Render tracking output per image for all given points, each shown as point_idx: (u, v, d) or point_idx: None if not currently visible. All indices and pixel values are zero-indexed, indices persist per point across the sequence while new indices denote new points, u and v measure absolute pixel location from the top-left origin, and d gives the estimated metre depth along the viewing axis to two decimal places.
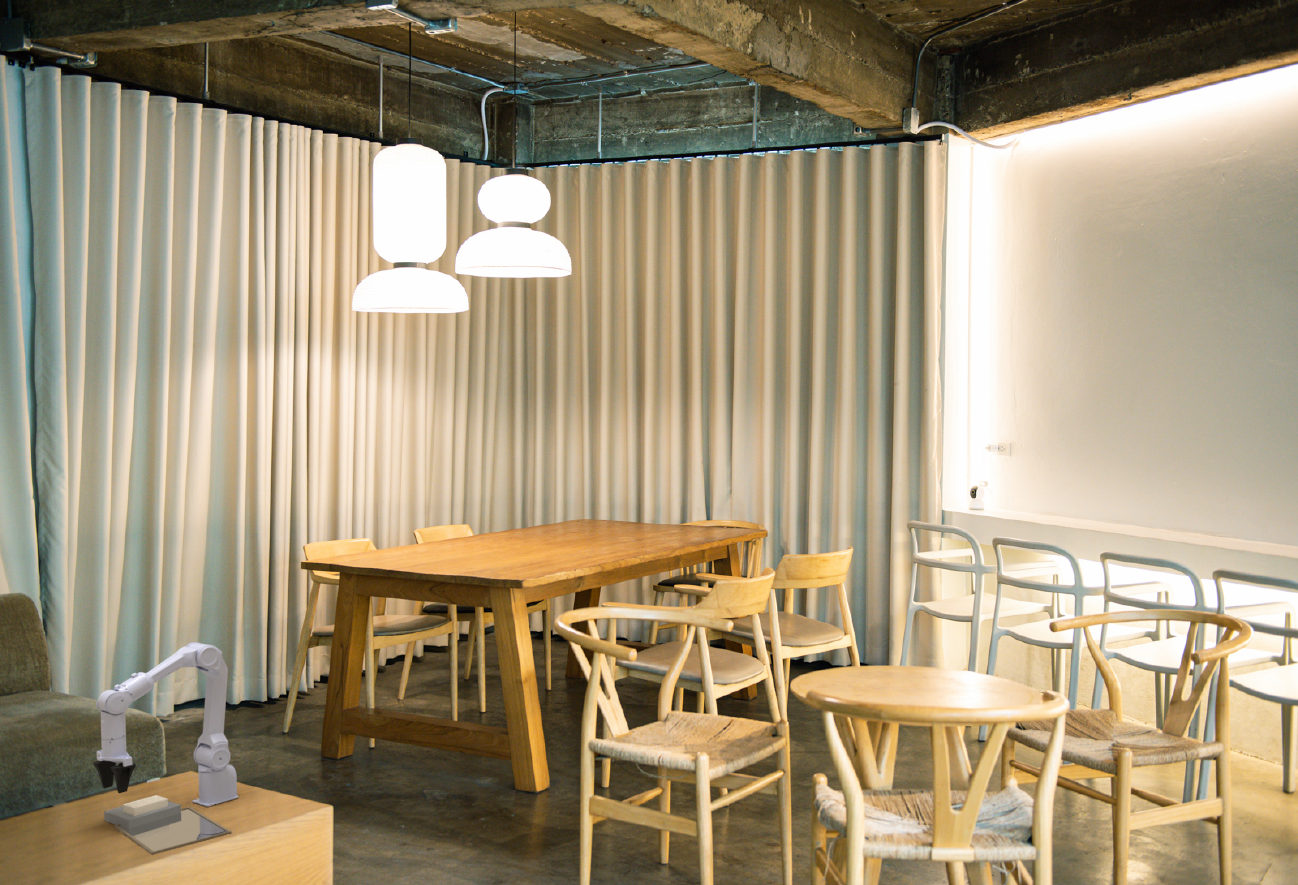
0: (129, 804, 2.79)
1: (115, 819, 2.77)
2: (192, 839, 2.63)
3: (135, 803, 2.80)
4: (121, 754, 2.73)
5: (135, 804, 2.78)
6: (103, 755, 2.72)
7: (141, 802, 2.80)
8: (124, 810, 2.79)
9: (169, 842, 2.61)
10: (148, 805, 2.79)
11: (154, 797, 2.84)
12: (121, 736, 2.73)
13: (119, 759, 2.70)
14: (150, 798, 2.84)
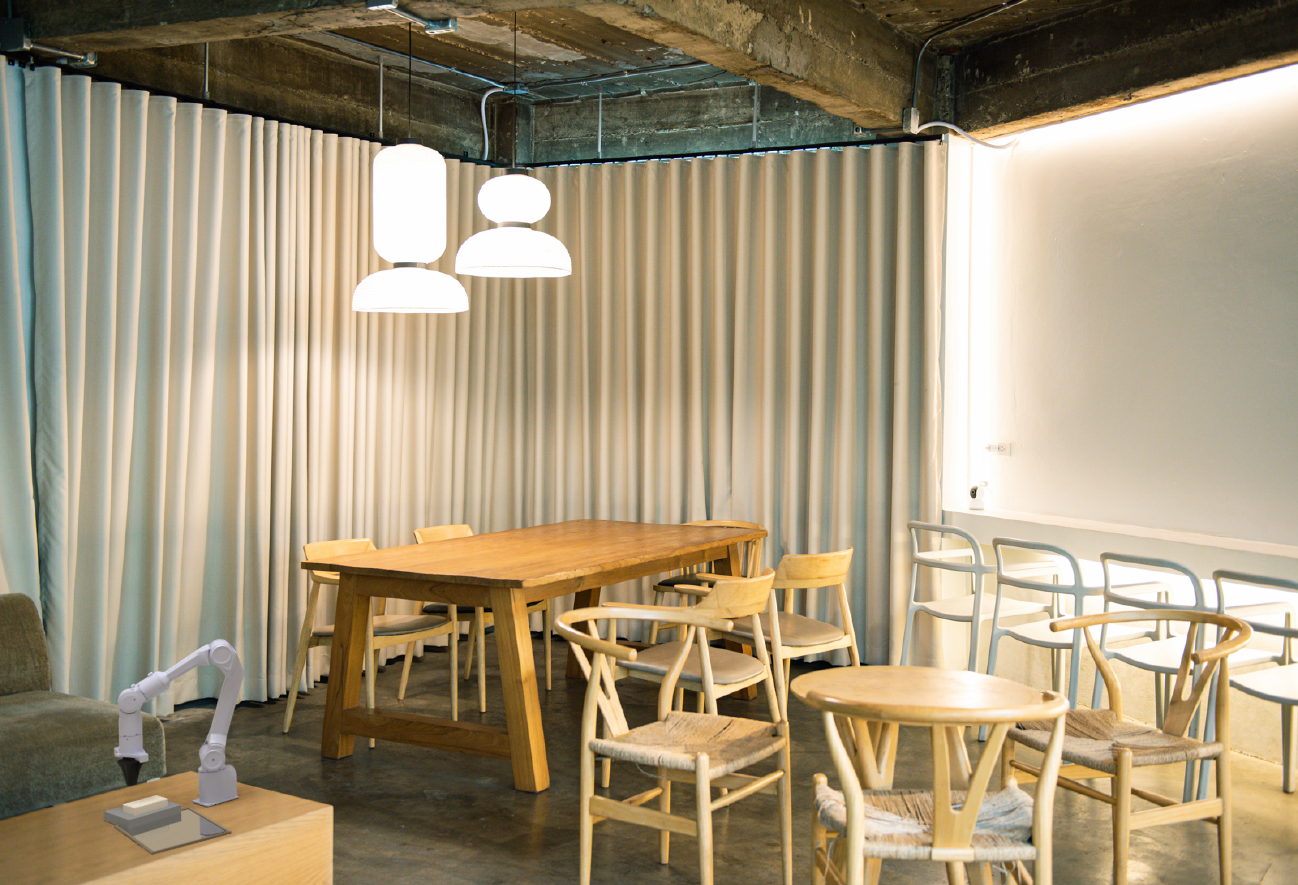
0: (129, 804, 2.79)
1: (115, 819, 2.77)
2: (192, 839, 2.63)
3: (135, 803, 2.80)
4: (138, 751, 2.84)
5: (135, 804, 2.78)
6: (120, 751, 2.83)
7: (141, 802, 2.80)
8: (124, 810, 2.79)
9: (169, 842, 2.61)
10: (148, 805, 2.79)
11: (154, 797, 2.84)
12: (134, 734, 2.83)
13: (136, 755, 2.81)
14: (150, 798, 2.84)
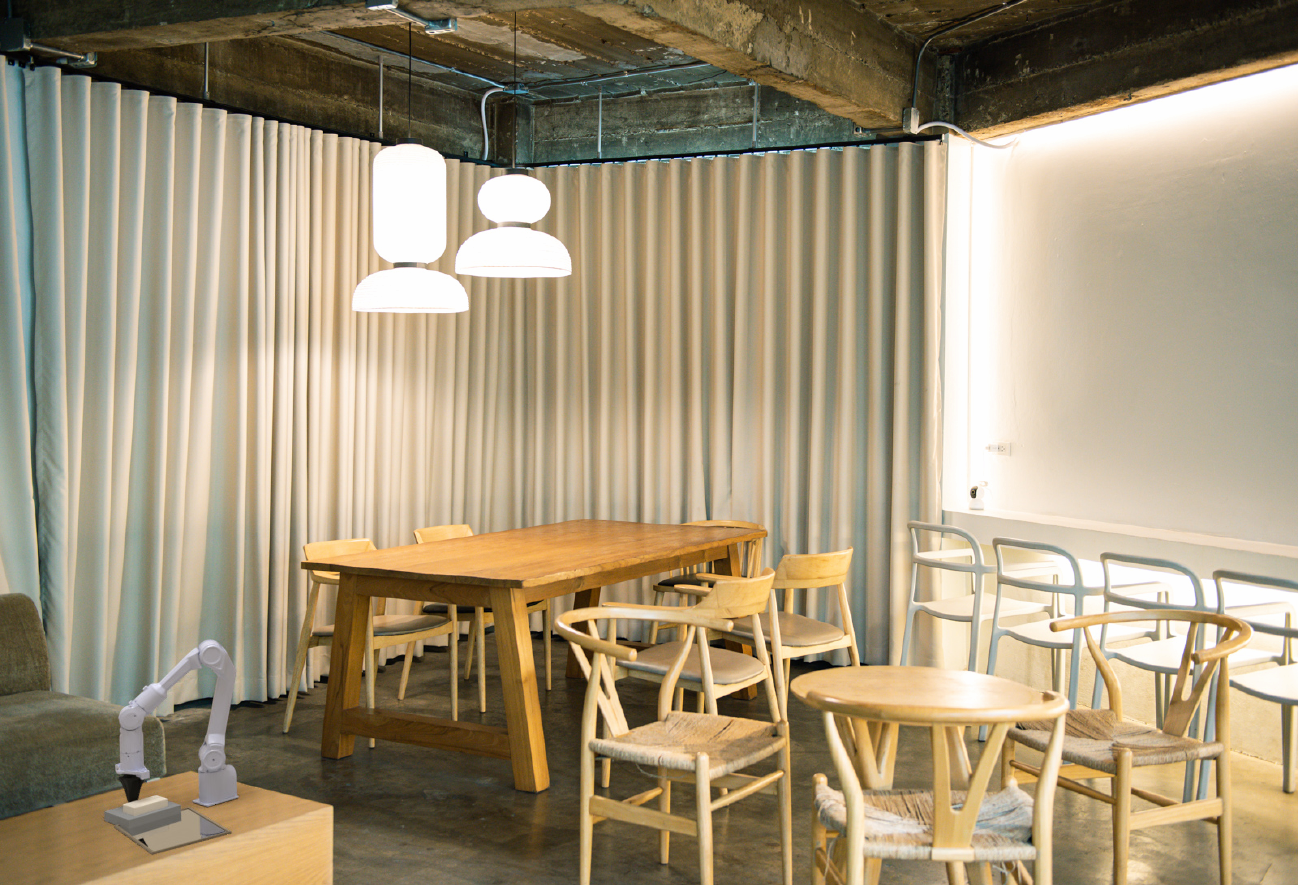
0: (129, 804, 2.79)
1: (115, 819, 2.77)
2: (192, 839, 2.63)
3: (135, 803, 2.80)
4: (139, 767, 2.84)
5: (135, 804, 2.78)
6: (122, 768, 2.83)
7: (141, 802, 2.80)
8: (124, 810, 2.79)
9: (169, 842, 2.61)
10: (148, 805, 2.79)
11: (154, 797, 2.84)
12: (135, 751, 2.83)
13: (137, 772, 2.81)
14: (150, 798, 2.84)
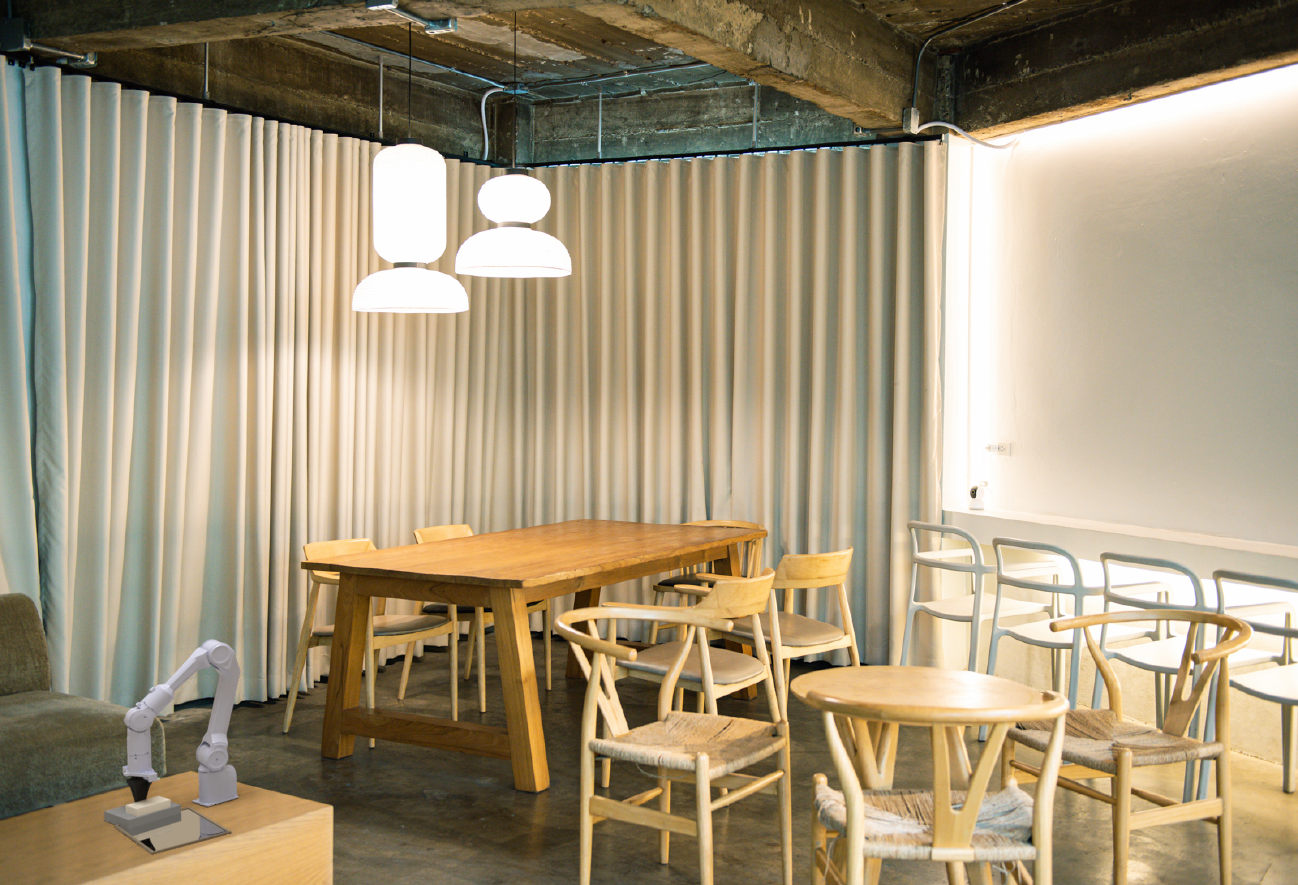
0: (131, 805, 2.78)
1: (115, 819, 2.77)
2: (192, 839, 2.63)
3: (138, 804, 2.79)
4: (146, 770, 2.81)
5: (137, 805, 2.78)
6: (129, 771, 2.80)
7: (144, 803, 2.79)
8: (127, 811, 2.78)
9: (169, 842, 2.61)
10: (151, 806, 2.78)
11: (157, 798, 2.83)
12: (145, 753, 2.81)
13: (144, 775, 2.79)
14: (153, 799, 2.83)
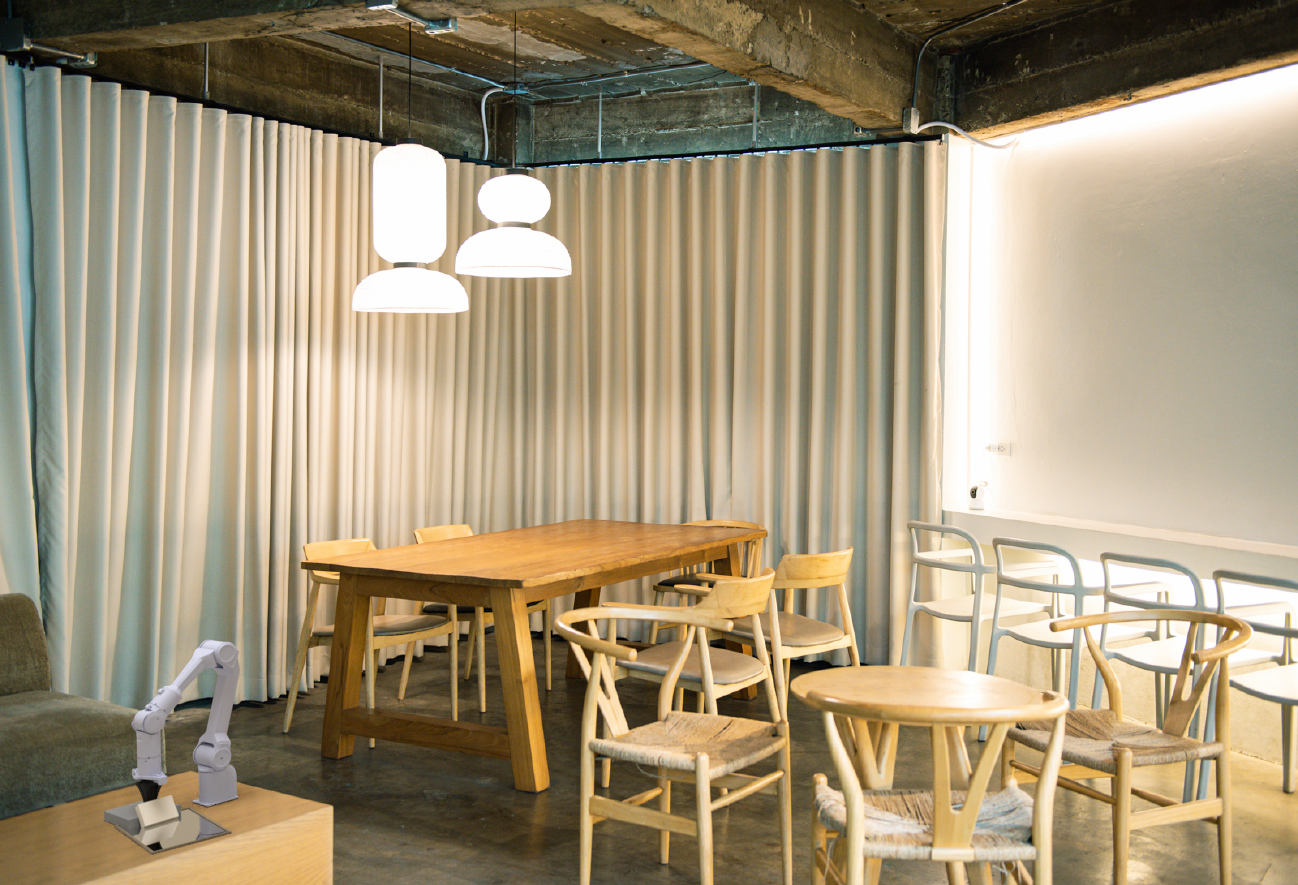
0: (142, 810, 2.74)
1: (115, 819, 2.77)
2: (192, 839, 2.63)
3: (149, 810, 2.75)
4: (156, 773, 2.78)
5: (148, 814, 2.74)
6: (139, 774, 2.77)
7: (154, 811, 2.76)
8: (136, 809, 2.75)
9: (169, 842, 2.61)
10: (158, 822, 2.75)
11: (168, 803, 2.79)
12: (157, 755, 2.79)
13: (155, 778, 2.75)
14: (164, 803, 2.79)
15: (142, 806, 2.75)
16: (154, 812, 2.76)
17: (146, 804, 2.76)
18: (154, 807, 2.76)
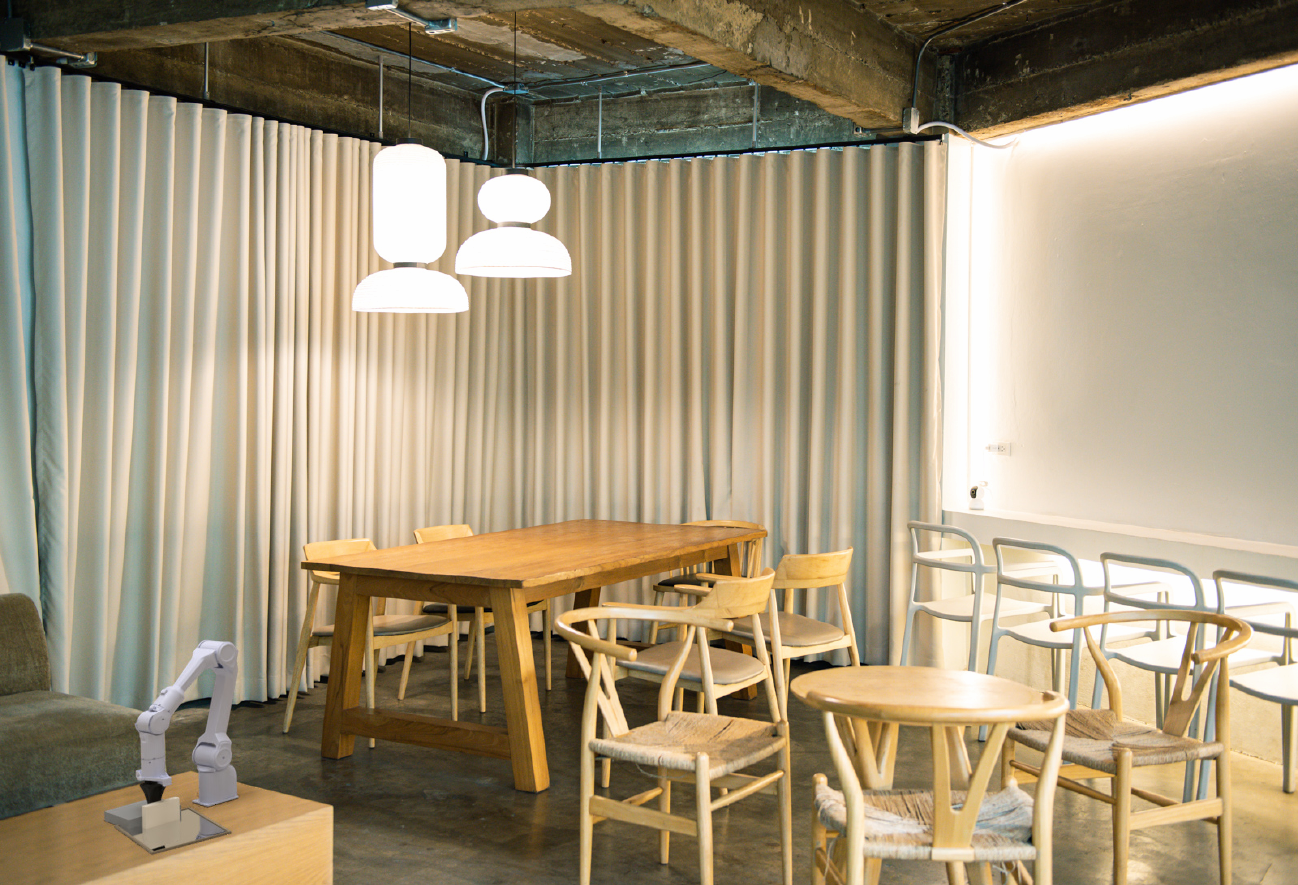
0: (148, 814, 2.72)
1: (115, 819, 2.77)
2: (192, 839, 2.63)
3: (154, 813, 2.74)
4: (160, 774, 2.77)
5: (152, 818, 2.73)
6: (143, 775, 2.76)
7: (159, 815, 2.75)
8: (142, 809, 2.73)
9: (169, 842, 2.61)
10: None
11: (174, 807, 2.78)
12: (162, 755, 2.78)
13: (159, 779, 2.74)
14: (170, 806, 2.77)
15: (149, 809, 2.73)
16: (158, 816, 2.74)
17: (153, 807, 2.73)
18: (160, 811, 2.75)
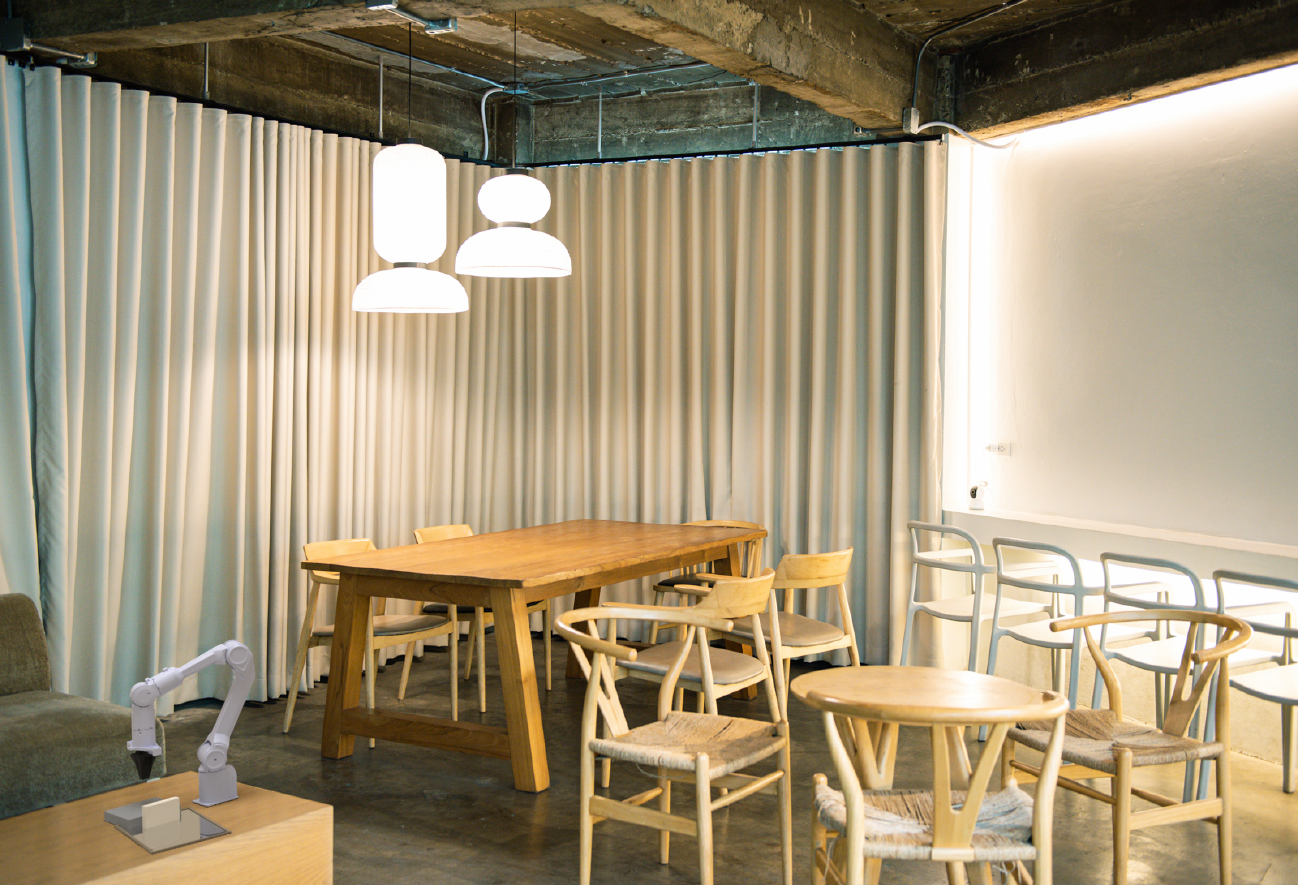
0: (148, 814, 2.72)
1: (115, 819, 2.77)
2: (192, 839, 2.63)
3: (154, 813, 2.74)
4: (151, 744, 2.84)
5: (152, 818, 2.73)
6: (133, 745, 2.83)
7: (159, 815, 2.75)
8: (142, 809, 2.73)
9: (169, 842, 2.61)
10: None
11: (174, 807, 2.78)
12: (148, 728, 2.83)
13: (149, 749, 2.81)
14: (170, 806, 2.77)
15: (149, 809, 2.73)
16: (158, 816, 2.74)
17: (153, 807, 2.73)
18: (160, 811, 2.75)
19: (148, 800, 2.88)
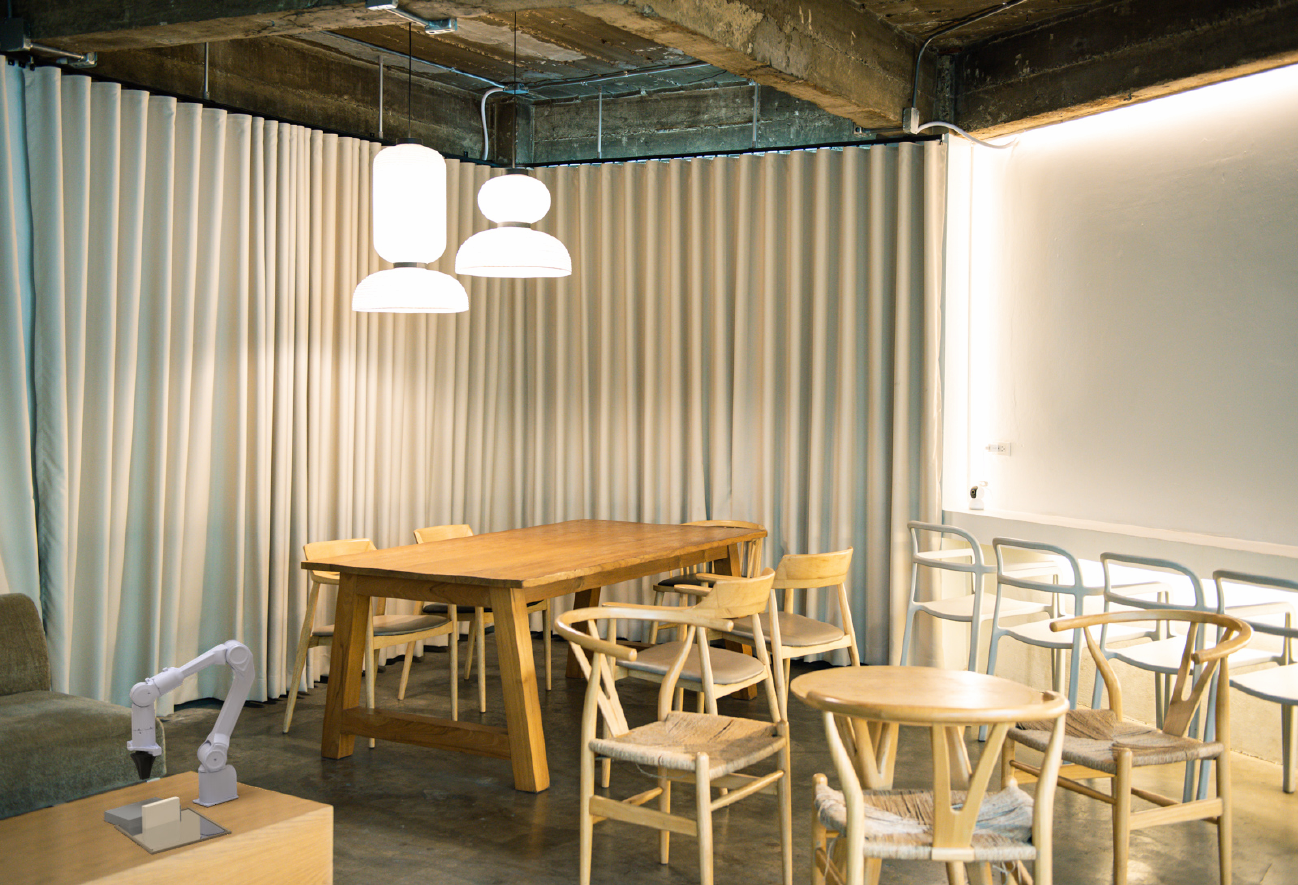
0: (148, 814, 2.72)
1: (115, 819, 2.77)
2: (192, 839, 2.63)
3: (154, 813, 2.74)
4: (151, 744, 2.84)
5: (152, 818, 2.73)
6: (133, 745, 2.83)
7: (159, 815, 2.75)
8: (142, 809, 2.73)
9: (169, 842, 2.61)
10: None
11: (174, 807, 2.78)
12: (148, 728, 2.83)
13: (149, 749, 2.81)
14: (170, 806, 2.77)
15: (149, 809, 2.73)
16: (158, 816, 2.74)
17: (153, 807, 2.73)
18: (160, 811, 2.75)
19: (148, 800, 2.88)
